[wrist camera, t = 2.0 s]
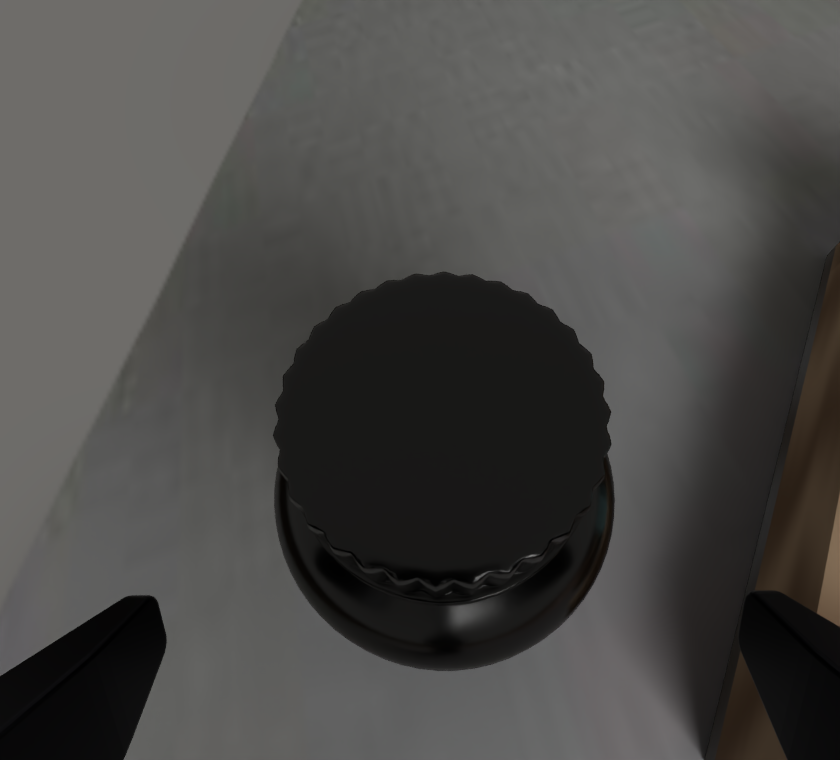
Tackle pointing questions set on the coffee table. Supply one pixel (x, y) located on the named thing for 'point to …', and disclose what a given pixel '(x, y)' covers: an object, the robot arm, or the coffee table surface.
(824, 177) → the coffee table surface
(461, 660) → the supplement bottle
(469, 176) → the coffee table surface
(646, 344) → the coffee table surface
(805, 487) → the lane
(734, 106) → the coffee table surface
